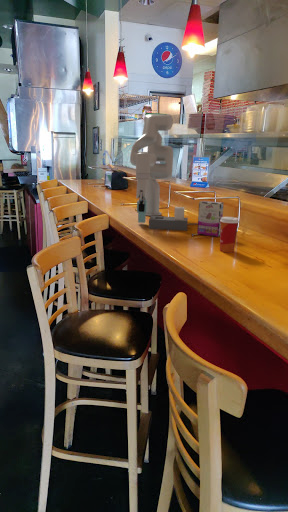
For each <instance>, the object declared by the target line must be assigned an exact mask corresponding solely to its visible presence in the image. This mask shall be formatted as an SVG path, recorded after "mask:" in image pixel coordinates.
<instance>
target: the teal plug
mask: <svg viewBox="0 0 288 512" xmlns="http://www.w3.org/2000/svg"><path fill="white" fill-rule="evenodd" d="M144 204H145V208H144V212H139V211H138V207H139V199H137V201H136V213H137V219H138V220H137V221H138V223H139V224H140V223H142V224H145V223H146V216H147V215H146V212H147V201H144Z"/></svg>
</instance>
